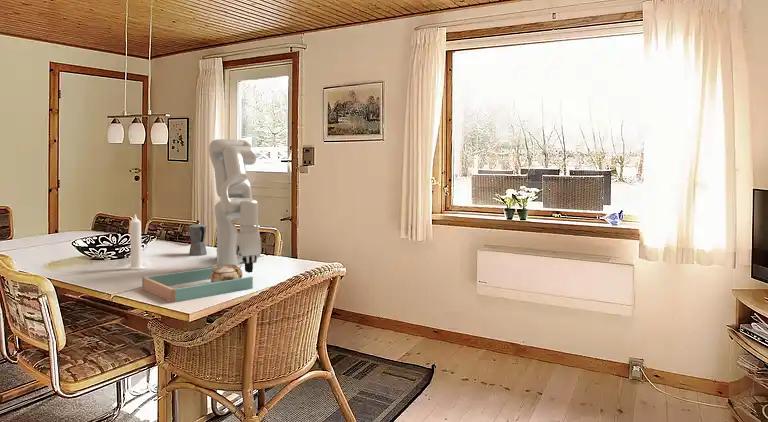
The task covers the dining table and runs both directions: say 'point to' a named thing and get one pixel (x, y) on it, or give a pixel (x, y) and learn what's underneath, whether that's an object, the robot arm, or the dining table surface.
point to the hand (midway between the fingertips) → (248, 271)
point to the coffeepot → (197, 239)
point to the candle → (135, 245)
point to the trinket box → (226, 273)
